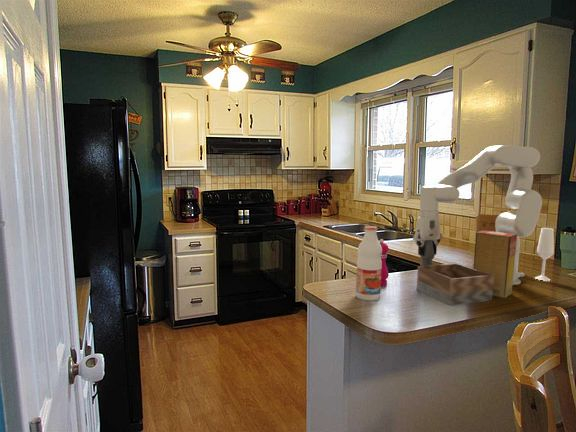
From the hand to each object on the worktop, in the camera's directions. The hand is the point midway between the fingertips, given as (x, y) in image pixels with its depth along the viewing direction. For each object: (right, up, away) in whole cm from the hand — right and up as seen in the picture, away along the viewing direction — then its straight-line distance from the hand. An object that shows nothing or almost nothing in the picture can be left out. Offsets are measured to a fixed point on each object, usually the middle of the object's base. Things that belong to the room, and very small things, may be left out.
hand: (427, 254), depth 177 cm
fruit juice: (-30, -15, -20) cm, 39 cm away
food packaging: (+23, -15, -11) cm, 29 cm away
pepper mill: (-22, -13, -3) cm, 25 cm away
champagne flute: (+57, -13, +10) cm, 60 cm away
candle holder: (0, -10, +1) cm, 10 cm away
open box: (+5, -15, -15) cm, 22 cm away
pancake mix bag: (+44, -10, +30) cm, 54 cm away
